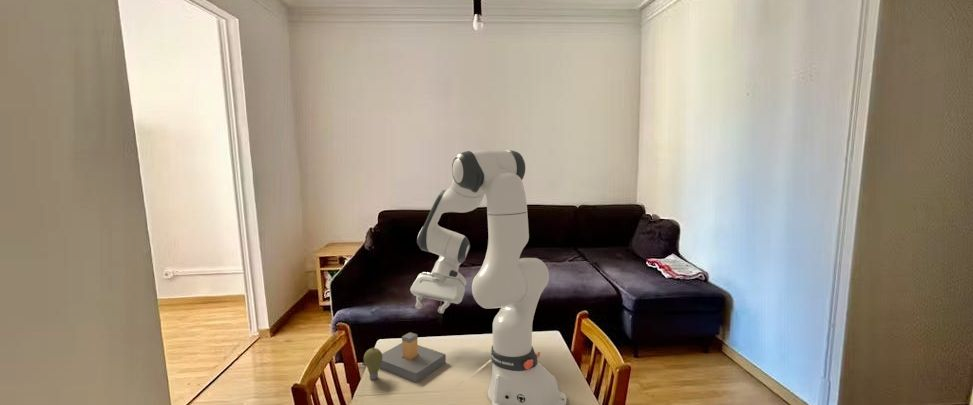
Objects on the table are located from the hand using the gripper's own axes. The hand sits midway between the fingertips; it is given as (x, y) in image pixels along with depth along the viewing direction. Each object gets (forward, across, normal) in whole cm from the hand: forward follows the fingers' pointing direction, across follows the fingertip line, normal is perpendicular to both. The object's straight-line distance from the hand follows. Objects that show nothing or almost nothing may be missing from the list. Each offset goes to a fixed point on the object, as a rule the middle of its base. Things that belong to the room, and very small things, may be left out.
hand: (428, 310), depth 146 cm
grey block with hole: (+18, 0, +3) cm, 19 cm away
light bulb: (+27, -5, -5) cm, 28 cm away
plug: (+18, 0, +3) cm, 18 cm away
